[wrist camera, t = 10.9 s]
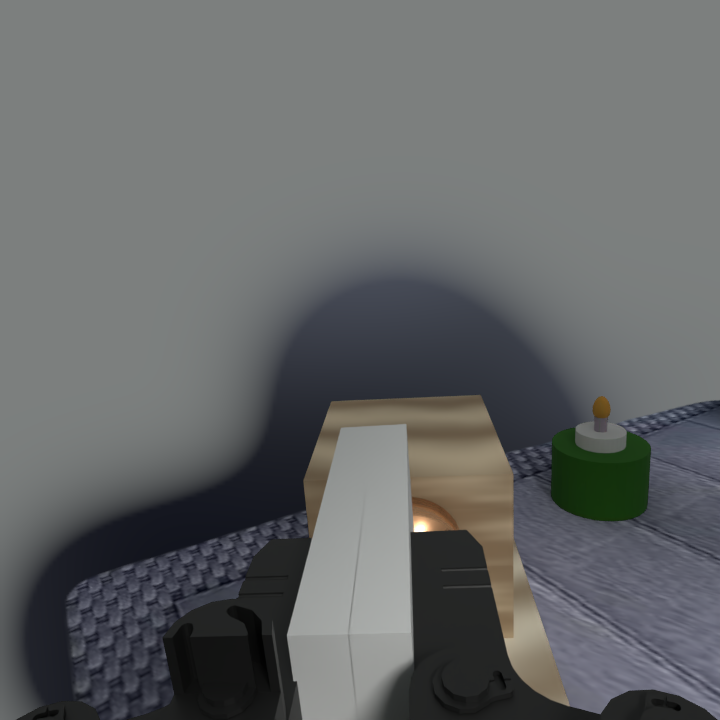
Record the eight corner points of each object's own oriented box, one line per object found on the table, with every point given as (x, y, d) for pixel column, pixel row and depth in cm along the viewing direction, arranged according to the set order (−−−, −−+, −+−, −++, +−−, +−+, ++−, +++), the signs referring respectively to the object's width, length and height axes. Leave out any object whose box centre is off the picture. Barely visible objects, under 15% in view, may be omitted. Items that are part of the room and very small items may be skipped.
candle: (556, 473, 59) (558, 379, 57) (646, 484, 56) (653, 385, 53) (545, 512, 52) (546, 408, 50) (647, 528, 49) (655, 416, 46)
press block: (322, 531, 52) (309, 398, 48) (504, 527, 50) (504, 390, 47) (270, 743, 31) (242, 538, 28) (574, 746, 30) (581, 531, 27)
